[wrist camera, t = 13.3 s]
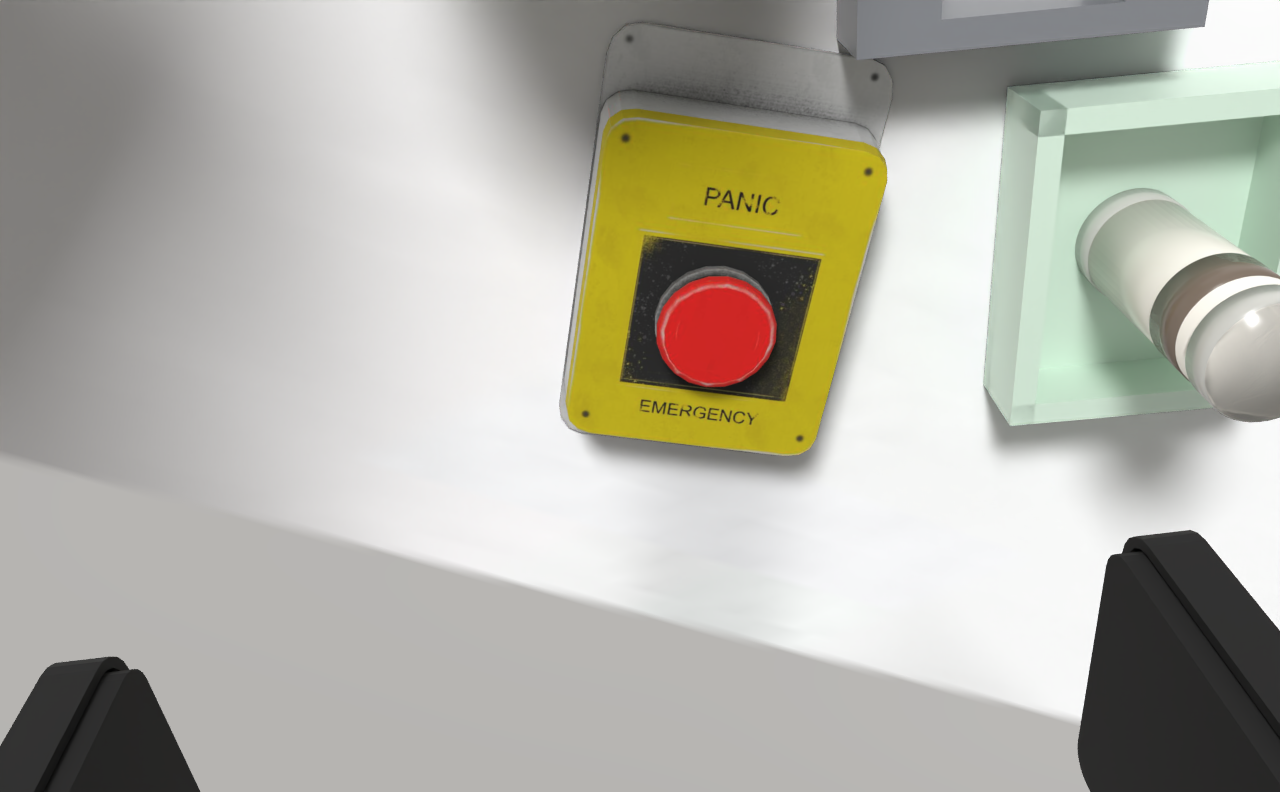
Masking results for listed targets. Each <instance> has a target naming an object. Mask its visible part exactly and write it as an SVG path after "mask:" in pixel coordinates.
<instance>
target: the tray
mask: <svg viewBox="0 0 1280 792" xmlns="http://www.w3.org/2000/svg"><path fill="white" fill-rule="evenodd" d="M1135 188H1150V189H1155V190H1159V191H1161V192H1164V193H1165V194H1167V195H1169V196H1170V197H1172V198H1173V199H1174V200H1176V201H1177V202H1179V203H1180V204H1181V205H1183V206H1184V207H1185V208H1186V209H1188V210H1189V212H1190V213H1191V214H1192V215H1194V216H1195V217H1197V218H1198V219H1199V220H1201V221H1202V222H1204V223H1205V224H1206V225H1208V226H1209V227H1210V228H1212V229H1213V230H1215V231H1216V232H1217V233H1219V234H1220V235H1222V236H1223V237H1224V238H1226V239H1227V240H1229V241H1230V242H1231V243H1233V244H1234V245H1235V246H1237V247H1238V248H1240V249H1241V250H1242V251H1244V252H1245V253H1247V254H1248V255H1249V256H1251V257H1253V258H1255V259H1256V260H1258V261H1260V262H1261V263H1262V264H1264V265H1265V266H1267V267H1268V268H1269V269H1271V270H1272V271H1274V272H1275V273H1276V274H1278V275H1279V276H1280V61H1272V62H1262V63H1252V64H1241V65H1231V66H1220V67H1210V68H1199V69H1189V70H1178V71H1168V72H1158V73H1147V74H1137V75H1126V76H1116V77H1105V78H1095V79H1085V80H1074V81H1064V82H1053V83H1043V84H1032V85H1022V86H1011V87H1008V88H1007V101H1006V113H1005V125H1004V137H1003V150H1002V162H1001V174H1000V187H999V199H998V211H997V224H996V236H995V248H994V261H993V273H992V285H991V298H990V310H989V322H988V335H987V347H986V359H985V371H984V384H983V385H984V386H985V388H986V389H987V391H988V392H989V394H990V396H991V397H992V399H993V400H994V402H995V403H996V405H997V407H998V408H999V410H1000V411H1001V413H1002V414H1003V416H1004V417H1005V419H1006V421H1007V422H1008V424H1009V425H1010V426H1017V425H1028V424H1039V423H1050V422H1062V421H1073V420H1084V419H1095V418H1106V417H1117V416H1128V415H1140V414H1151V413H1162V412H1173V411H1184V410H1195V409H1206V408H1213V407H1212V405H1211V404H1210V403H1209V402H1208V401H1207V400H1206V399H1205V398H1204V397H1203V396H1202V395H1201V394H1200V393H1199V392H1198V391H1197V390H1196V389H1195V388H1194V387H1193V386H1192V384H1191V382H1190V381H1188V380H1187V379H1186V378H1185V377H1184V376H1183V375H1182V374H1181V373H1180V372H1179V371H1178V370H1177V369H1176V368H1175V367H1174V366H1173V365H1172V364H1171V363H1170V362H1169V361H1168V360H1167V359H1166V358H1165V357H1164V356H1163V355H1162V354H1161V353H1160V352H1159V351H1158V349H1157V348H1156V347H1155V345H1154V344H1153V343H1152V342H1151V341H1150V340H1149V339H1148V338H1147V337H1146V336H1145V335H1144V334H1143V333H1142V332H1141V331H1140V330H1139V329H1138V328H1137V327H1136V326H1135V325H1134V324H1133V323H1132V322H1131V321H1130V320H1129V319H1128V318H1127V317H1126V316H1125V315H1124V314H1123V313H1122V312H1121V311H1120V310H1119V309H1118V308H1117V307H1116V306H1115V305H1114V304H1113V303H1112V302H1111V301H1110V300H1109V299H1108V298H1107V297H1106V296H1105V295H1103V294H1102V293H1100V292H1099V291H1098V290H1097V289H1096V288H1095V287H1094V286H1093V285H1092V284H1091V283H1090V282H1089V281H1088V280H1087V279H1086V278H1085V277H1084V276H1083V274H1082V273H1081V271H1080V270H1079V268H1078V265H1077V262H1076V258H1075V244H1076V239H1077V236H1078V233H1079V230H1080V228H1081V226H1082V224H1083V223H1084V221H1085V219H1086V218H1087V217H1088V215H1089V214H1090V213H1091V212H1092V211H1093V210H1094V209H1095V208H1096V207H1097V206H1098V205H1099V204H1101V203H1102V202H1103V201H1105V200H1106V199H1108V198H1109V197H1111V196H1113V195H1115V194H1117V193H1120V192H1122V191H1126V190H1129V189H1135Z"/></svg>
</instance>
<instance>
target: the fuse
mask: <svg viewBox="0 0 1280 792" xmlns="http://www.w3.org/2000/svg"><path fill="white" fill-rule="evenodd" d="M1075 258H1076V262H1077V265H1078V268H1079V270H1080V271H1081V273H1082V274H1083V276H1084V277H1085V278H1086V279H1087V280H1088V281H1089V282H1090V283H1091V284H1092V285H1093V286H1094V287H1095V288H1096V289H1097V290H1098V291H1099V292H1100V293H1102V294H1103V295H1105V296H1106V297H1107V298H1108V299H1109V300H1110V301H1111V302H1112V303H1113V304H1114V305H1115V306H1116V307H1117V308H1118V309H1119V310H1120V311H1121V312H1122V313H1123V314H1124V315H1125V316H1126V317H1127V318H1128V319H1129V320H1130V321H1131V322H1132V323H1133V324H1134V325H1135V326H1136V327H1137V328H1138V329H1139V330H1140V331H1141V332H1142V333H1143V334H1144V335H1145V336H1146V337H1147V338H1148V339H1149V340H1150V341H1151V342H1152V343H1153V344H1154V345H1155V347H1156V348H1157V349H1158V351H1159V352H1160V353H1161V354H1162V355H1163V356H1164V357H1165V358H1166V359H1167V360H1168V361H1169V362H1170V363H1171V364H1172V365H1173V366H1174V367H1175V368H1176V369H1177V370H1178V371H1179V372H1180V373H1181V374H1182V375H1183V376H1184V377H1185V378H1186V379H1187V380H1188V381H1190V382H1191V384H1192V386H1193V387H1194V388H1195V389H1196V390H1197V391H1198V392H1199V393H1200V394H1201V395H1202V396H1203V397H1204V398H1205V399H1206V400H1207V401H1208V402H1209V403H1210V404H1211V405H1212V407H1213V408H1214V409H1216V410H1217V411H1218V412H1219V413H1221V414H1222V415H1224V416H1226V417H1228V418H1231V419H1234V420H1238V421H1243V422H1262V421H1269V420H1273V419H1277V418H1280V276H1279V275H1278V274H1276V273H1275V272H1274V271H1272V270H1271V269H1269V268H1268V267H1267V266H1265V265H1264V264H1262V263H1261V262H1260V261H1258V260H1256V259H1255V258H1253V257H1251V256H1249V255H1248V254H1247V253H1245V252H1244V251H1242V250H1241V249H1240V248H1238V247H1237V246H1235V245H1234V244H1233V243H1231V242H1230V241H1229V240H1227V239H1226V238H1224V237H1223V236H1222V235H1220V234H1219V233H1217V232H1216V231H1215V230H1213V229H1212V228H1210V227H1209V226H1208V225H1206V224H1205V223H1204V222H1202V221H1201V220H1199V219H1198V218H1197V217H1195V216H1194V215H1192V214H1191V213H1190V212H1189V210H1188V209H1186V208H1185V207H1184V206H1183V205H1181V204H1180V203H1179V202H1177V201H1176V200H1174V199H1173V198H1172V197H1170V196H1169V195H1167V194H1165V193H1164V192H1161V191H1159V190H1155V189H1150V188H1135V189H1129V190H1126V191H1122V192H1120V193H1117V194H1115V195H1113V196H1111V197H1109V198H1108V199H1106V200H1105V201H1103V202H1102V203H1101V204H1099V205H1098V206H1097V207H1096V208H1095V209H1094V210H1093V211H1092V212H1091V213H1090V214H1089V215H1088V217H1087V218H1086V219H1085V221H1084V223H1083V224H1082V226H1081V228H1080V230H1079V233H1078V236H1077V239H1076V244H1075Z"/></svg>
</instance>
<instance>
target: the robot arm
mask: <svg viewBox="0 0 1280 792" xmlns="http://www.w3.org/2000/svg"><path fill="white" fill-rule="evenodd" d="M1078 758H1079V762H1080V767H1081V770H1082V773H1083V777H1084V779H1085V781H1086V783H1087V786H1088V788H1089V789H1090V792H1280V631H1279V629H1278V628H1277V627H1276V626H1275V624H1274V623H1273V622H1272V621H1271V620H1270V618H1269V617H1268V616H1267V615H1266V613H1265V612H1264V611H1263V610H1262V609H1261V607H1260V606H1259V605H1258V604H1257V602H1256V601H1255V600H1254V599H1253V598H1252V596H1251V595H1250V594H1249V593H1248V591H1247V590H1246V589H1245V588H1244V587H1243V585H1242V584H1241V583H1240V582H1239V580H1238V579H1237V578H1236V577H1235V576H1234V574H1233V573H1232V572H1231V571H1230V569H1229V568H1228V567H1227V566H1226V565H1225V563H1224V562H1223V561H1222V560H1221V558H1220V557H1219V556H1218V555H1217V554H1216V552H1215V551H1214V550H1213V549H1212V548H1211V546H1210V545H1209V544H1208V543H1207V541H1206V540H1205V539H1204V538H1203V537H1202V536H1201V535H1199V534H1198V533H1197V532H1194V531H1191V530H1187V531H1179V532H1170V533H1162V534H1153V535H1145V536H1136V537H1132V538H1129V539H1128V540H1127V542H1126V543H1125V545H1124V548H1123V552H1122V554H1115V555H1111V556H1110V558H1109V559H1108V562H1107V565H1106V571H1105V577H1104V583H1103V590H1102V596H1101V602H1100V608H1099V614H1098V621H1097V627H1096V633H1095V639H1094V645H1093V652H1092V658H1091V664H1090V670H1089V676H1088V683H1087V689H1086V695H1085V701H1084V707H1083V714H1082V720H1081V726H1080V732H1079V739H1078ZM0 792H200V790H199V788H198V786H197V784H196V782H195V780H194V778H193V775H192V773H191V771H190V769H189V767H188V765H187V763H186V761H185V759H184V756H183V754H182V752H181V750H180V748H179V746H178V744H177V742H176V740H175V737H174V735H173V733H172V731H171V729H170V727H169V725H168V723H167V721H166V718H165V716H164V714H163V712H162V710H161V708H160V706H159V704H158V702H157V699H156V697H155V695H154V693H153V691H152V689H151V687H150V685H149V683H148V680H147V678H146V677H145V675H144V674H143V672H141V671H140V670H138V669H134V670H133V669H132V670H129V669H128V667H127V666H126V664H125V663H124V661H123V660H121V659H119V658H118V657H104V658H95V659H87V660H78V661H69V662H61V663H55V664H53V665H51V666H49V667H48V668H47V669H46V670H45V671H44V673H43V674H42V675H41V676H40V678H39V680H38V682H37V683H36V685H35V687H34V689H33V691H32V692H31V694H30V696H29V697H28V699H27V701H26V702H25V704H24V706H23V708H22V709H21V711H20V713H19V715H18V716H17V718H16V720H15V722H14V724H13V725H12V727H11V729H10V730H9V732H8V734H7V735H6V737H5V739H4V741H3V742H2V744H1V746H0Z"/></svg>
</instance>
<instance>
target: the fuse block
mask: <svg viewBox="0 0 1280 792" xmlns="http://www.w3.org/2000/svg"><path fill="white" fill-rule="evenodd" d="M1208 3H1209V0H837V40H838V41H839V42H840V43H841V44H842V45H843V46H844V47H845V48H846V49H847V50H848V51H849V53H850V54H851V55H852V56H853V57H854V58H855V59H856V60H864V59H874V58H885V57H895V56H905V55H916V54H926V53H936V52H947V51H957V50H968V49H978V48H988V47H999V46H1009V45H1019V44H1030V43H1040V42H1050V41H1061V40H1071V39H1082V38H1092V37H1102V36H1113V35H1123V34H1133V33H1144V32H1154V31H1164V30H1175V29H1185V28H1196V27H1205V21H1206V15H1207V9H1208Z"/></svg>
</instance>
